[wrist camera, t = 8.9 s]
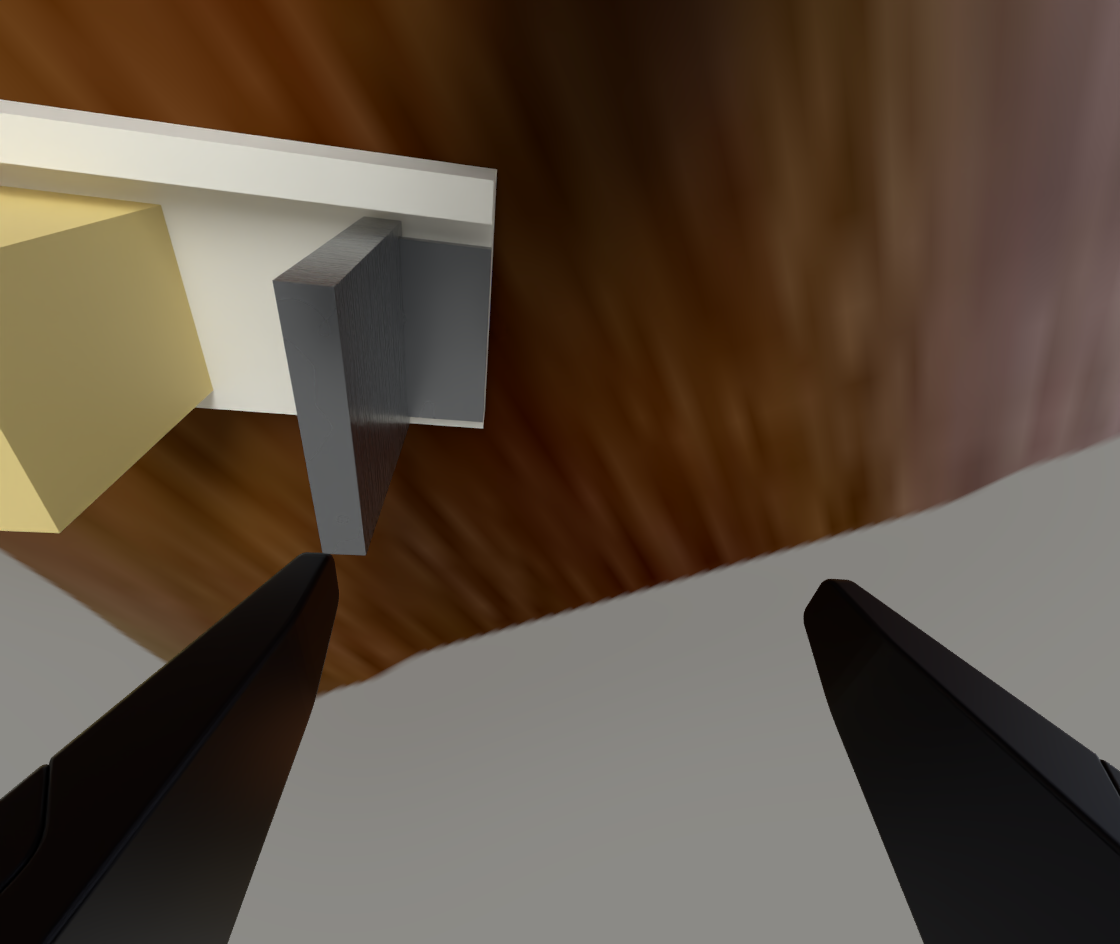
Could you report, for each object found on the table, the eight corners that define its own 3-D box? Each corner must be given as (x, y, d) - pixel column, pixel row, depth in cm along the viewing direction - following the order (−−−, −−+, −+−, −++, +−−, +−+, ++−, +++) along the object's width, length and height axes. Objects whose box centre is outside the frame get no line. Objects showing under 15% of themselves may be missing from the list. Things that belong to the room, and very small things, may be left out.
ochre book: (160, 204, 14) (-90, 271, 8) (213, 390, 17) (59, 533, 11) (-9, 184, 13) (-405, 240, 8) (78, 379, 16) (-156, 524, 11)
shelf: (497, 169, 15) (486, 204, 9) (485, 408, 20) (473, 530, 14) (-328, 53, 12) (-1037, 4, 7) (-123, 361, 17) (-444, 487, 11)
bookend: (492, 232, 14) (480, 302, 9) (482, 427, 18) (470, 559, 13) (363, 216, 14) (272, 280, 9) (380, 420, 18) (322, 553, 12)
